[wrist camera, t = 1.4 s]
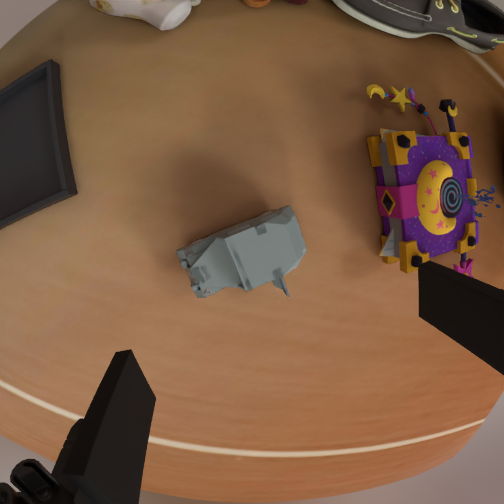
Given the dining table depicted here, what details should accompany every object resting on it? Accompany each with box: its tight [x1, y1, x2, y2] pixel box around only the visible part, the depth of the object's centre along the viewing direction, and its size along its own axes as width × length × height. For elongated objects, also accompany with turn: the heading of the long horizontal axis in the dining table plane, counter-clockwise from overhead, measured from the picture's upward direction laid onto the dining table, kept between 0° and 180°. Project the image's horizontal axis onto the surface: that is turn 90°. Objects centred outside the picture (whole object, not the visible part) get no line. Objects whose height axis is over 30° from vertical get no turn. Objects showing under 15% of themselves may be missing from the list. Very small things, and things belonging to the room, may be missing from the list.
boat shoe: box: [332, 0, 504, 54], centre depth 18 cm, size 11×29×9 cm, turn 109°
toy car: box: [176, 205, 306, 298], centre depth 24 cm, size 6×10×5 cm, turn 111°
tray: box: [0, 59, 78, 230], centre depth 20 cm, size 14×15×2 cm
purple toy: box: [367, 84, 500, 278], centre depth 22 cm, size 14×25×12 cm, turn 11°
